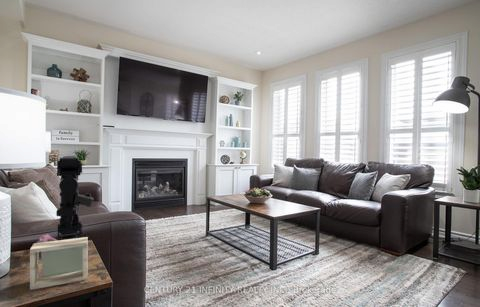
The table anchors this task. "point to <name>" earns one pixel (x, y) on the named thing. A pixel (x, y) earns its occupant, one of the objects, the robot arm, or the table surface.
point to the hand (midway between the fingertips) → (69, 228)
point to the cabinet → (60, 278)
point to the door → (62, 261)
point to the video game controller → (46, 239)
